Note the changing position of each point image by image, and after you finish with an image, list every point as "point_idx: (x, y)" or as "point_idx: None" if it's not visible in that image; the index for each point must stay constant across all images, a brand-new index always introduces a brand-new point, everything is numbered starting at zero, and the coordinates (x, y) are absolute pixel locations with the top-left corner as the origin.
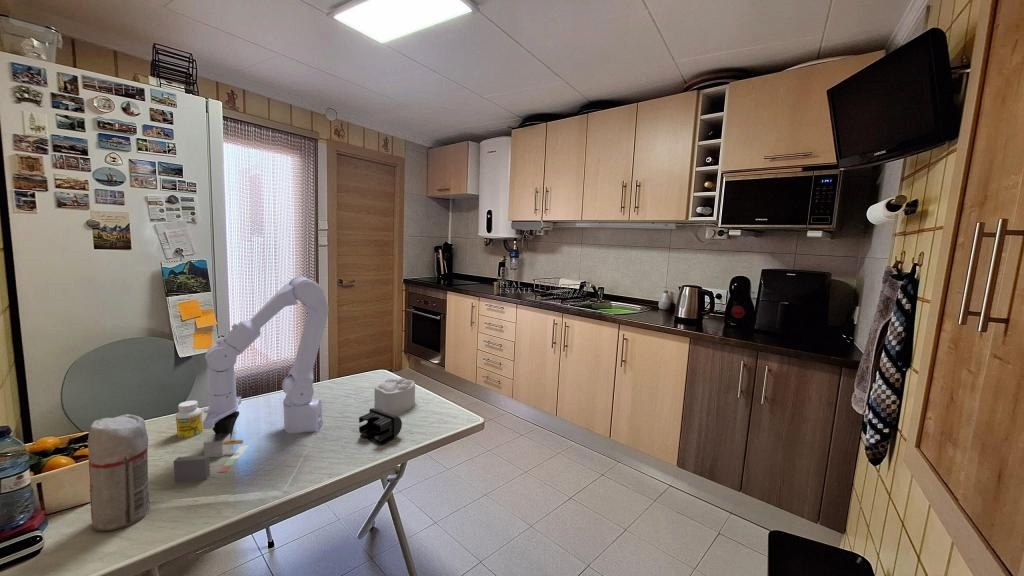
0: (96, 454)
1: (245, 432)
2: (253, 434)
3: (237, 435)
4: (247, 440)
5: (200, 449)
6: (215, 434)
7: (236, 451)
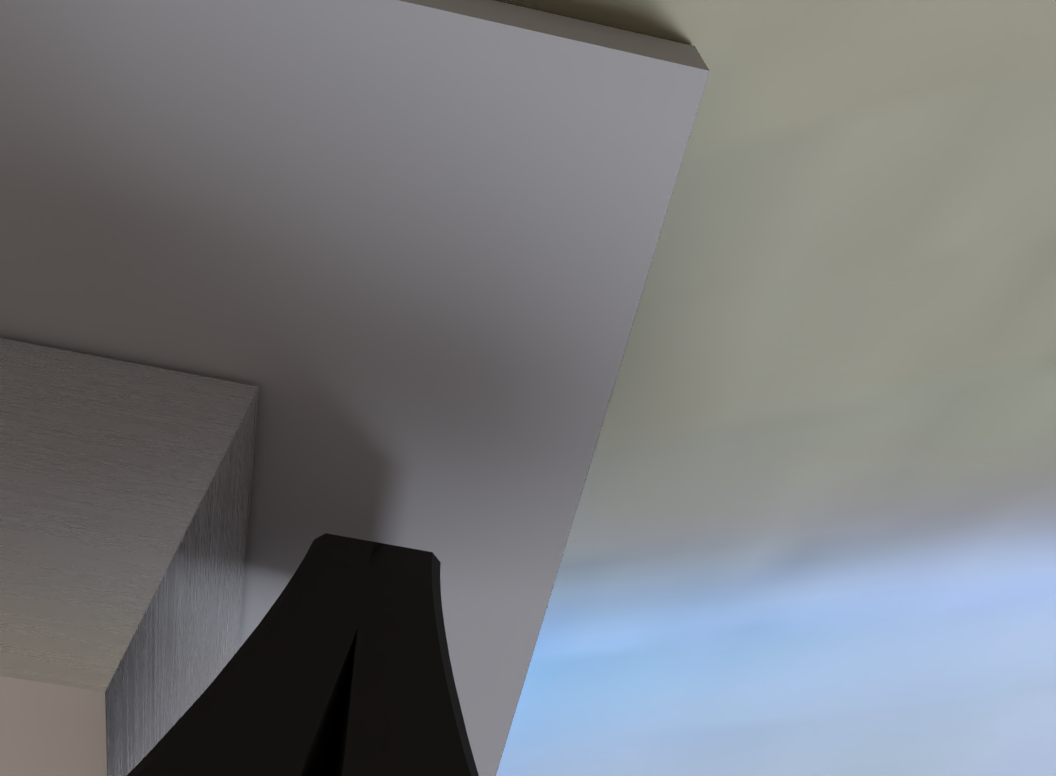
0: None
1: (1014, 666)
2: (844, 768)
3: (954, 576)
4: (639, 726)
5: (571, 13)
6: (68, 764)
7: None
